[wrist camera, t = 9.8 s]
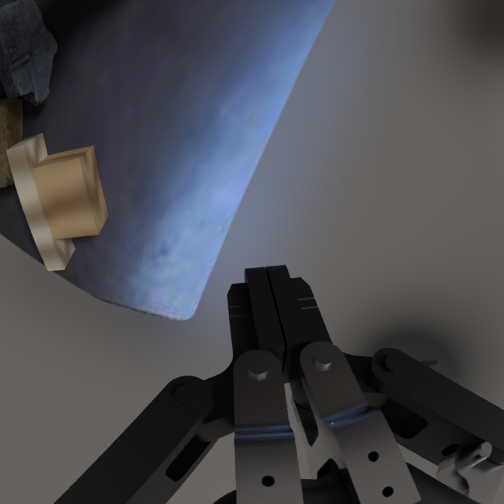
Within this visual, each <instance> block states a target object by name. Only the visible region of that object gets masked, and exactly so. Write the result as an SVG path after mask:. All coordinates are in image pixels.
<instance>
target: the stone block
mask: <svg viewBox="0 0 504 504" xmlns="http://www.w3.org/2000/svg"><path fill="white" fill-rule="evenodd" d="M22 137H23V104H22V100H21V99H18V98H16V97H14V98H9V99H8V98H5V99H0V187H6V186H7V185H12V184H14V183H15V182H14V179H13V175H12V172H11V168H10V164H9V160H8V156H7V152H6V150H7V149H9V148H11V147H12V146H14V145H15V144H17V143H19V142H20V141H22V140H23V138H22Z"/></svg>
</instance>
